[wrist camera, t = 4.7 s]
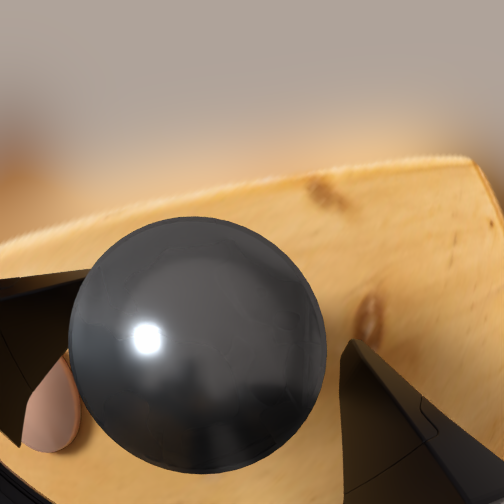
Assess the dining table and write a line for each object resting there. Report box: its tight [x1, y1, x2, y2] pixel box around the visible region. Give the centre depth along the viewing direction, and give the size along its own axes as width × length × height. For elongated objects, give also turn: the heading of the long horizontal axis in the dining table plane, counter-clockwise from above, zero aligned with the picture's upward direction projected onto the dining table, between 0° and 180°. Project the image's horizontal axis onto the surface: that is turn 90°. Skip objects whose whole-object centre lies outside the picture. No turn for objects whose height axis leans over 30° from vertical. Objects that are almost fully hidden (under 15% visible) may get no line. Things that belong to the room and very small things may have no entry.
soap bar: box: [21, 356, 81, 453], centre depth 14 cm, size 9×9×1 cm
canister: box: [68, 216, 327, 474], centre depth 11 cm, size 5×5×12 cm
